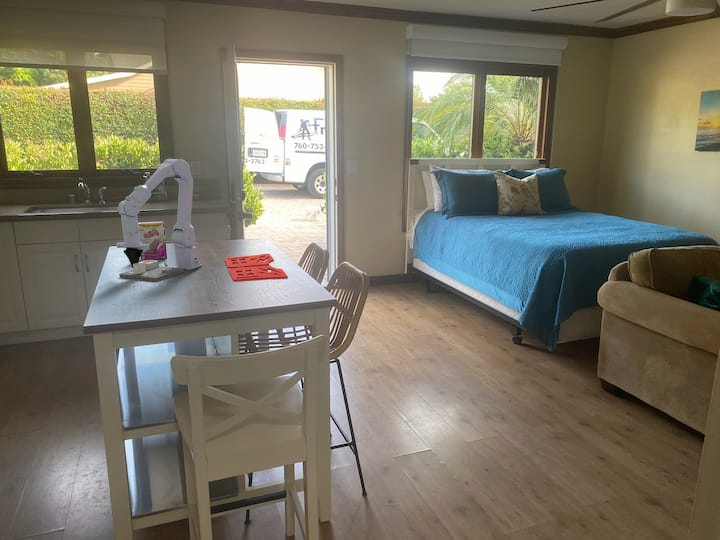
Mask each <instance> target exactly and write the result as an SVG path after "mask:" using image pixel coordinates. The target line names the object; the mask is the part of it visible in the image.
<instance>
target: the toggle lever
mask: <svg viewBox="0 0 720 540" xmlns="http://www.w3.org/2000/svg"><path fill="white" fill-rule="evenodd" d="M160 260H161V261H162V262H163V265H164V267H168V264H167V261H166V260H167V259H166V258H165V257H162V258H161V259H160Z"/></svg>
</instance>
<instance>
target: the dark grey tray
mask: <svg viewBox="0 0 720 540" xmlns="http://www.w3.org/2000/svg"><path fill="white" fill-rule="evenodd" d="M149 261H151V262H152V263H148V264H147V263H145V268H146V272H143V273H140V274H134V269H131V270H128V271H124V272H121V273H119V275H118V276H119V278H121V279H127V278H130V279H129V280H136V279H138V280H137V281H145V280H146V281H147V282H154V281H155V282H160V281H163V280H166V279H169V278H172V277H175V276H177V275H180V274H184V273H183V272H184V269H179V268H172V267H165V266H160V261H159V260H143V261H141V260H140V262H149Z"/></svg>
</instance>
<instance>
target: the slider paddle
mask: <svg viewBox="0 0 720 540" xmlns="http://www.w3.org/2000/svg"><path fill="white" fill-rule="evenodd" d="M132 270H134V274H140V273H143V272H146V268H145V262H141V261H139V262H138V263H135V264H133V268H132Z"/></svg>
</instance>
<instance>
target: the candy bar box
mask: <svg viewBox="0 0 720 540" xmlns="http://www.w3.org/2000/svg"><path fill="white" fill-rule="evenodd" d="M138 225H139V234H140V243H144V244H149V248H150V249H149V250H143V251H142V253H141V256H140V261H141V260H143V261H145V260H153V259H156V260H161V258H162V257H165V258H166V259H165V260H168V253H167V252H168V251H167V239H166V230H165V221H143V222H138Z"/></svg>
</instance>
